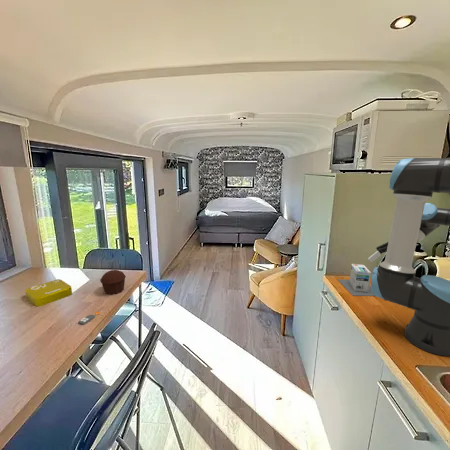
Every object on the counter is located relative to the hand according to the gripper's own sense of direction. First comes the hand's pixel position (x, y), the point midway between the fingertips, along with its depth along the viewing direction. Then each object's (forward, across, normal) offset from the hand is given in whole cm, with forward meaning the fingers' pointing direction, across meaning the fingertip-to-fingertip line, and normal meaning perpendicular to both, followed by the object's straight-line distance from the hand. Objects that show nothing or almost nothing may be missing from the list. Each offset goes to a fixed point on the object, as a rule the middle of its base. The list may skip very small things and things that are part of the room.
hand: (376, 265), depth 132 cm
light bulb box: (+14, -1, -3) cm, 15 cm away
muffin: (+102, -10, +85) cm, 133 cm away
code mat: (+14, -1, -3) cm, 15 cm away
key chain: (+101, -31, +84) cm, 135 cm away
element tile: (+122, -16, +105) cm, 161 cm away
